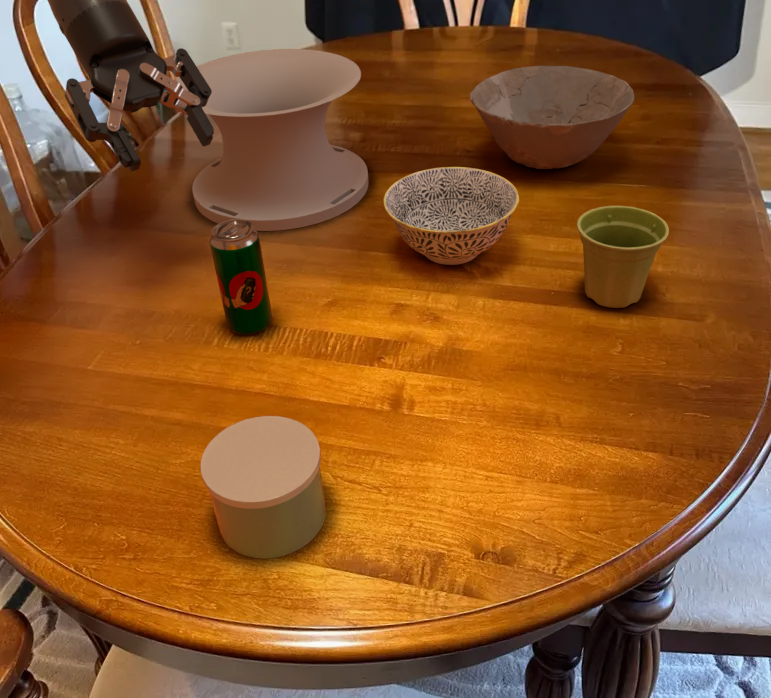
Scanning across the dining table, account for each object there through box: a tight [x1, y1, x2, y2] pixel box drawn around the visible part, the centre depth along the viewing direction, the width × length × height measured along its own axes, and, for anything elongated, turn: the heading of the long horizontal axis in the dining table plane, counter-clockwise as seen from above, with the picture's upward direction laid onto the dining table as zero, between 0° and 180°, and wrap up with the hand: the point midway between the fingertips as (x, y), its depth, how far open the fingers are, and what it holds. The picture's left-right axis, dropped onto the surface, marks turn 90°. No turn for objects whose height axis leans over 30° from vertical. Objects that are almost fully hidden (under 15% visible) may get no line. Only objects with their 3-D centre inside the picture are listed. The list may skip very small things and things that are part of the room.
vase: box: [175, 48, 370, 232], centre depth 110 cm, size 25×25×16 cm
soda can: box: [209, 219, 273, 336], centre depth 85 cm, size 5×5×12 cm
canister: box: [199, 415, 327, 559], centre depth 65 cm, size 9×9×7 cm
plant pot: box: [576, 205, 670, 309], centre depth 87 cm, size 9×9×9 cm
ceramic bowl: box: [469, 65, 635, 170], centre depth 115 cm, size 22×23×10 cm
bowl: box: [382, 166, 520, 266], centre depth 97 cm, size 16×16×8 cm
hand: (173, 154), depth 85 cm, fingers open, 8 cm apart
